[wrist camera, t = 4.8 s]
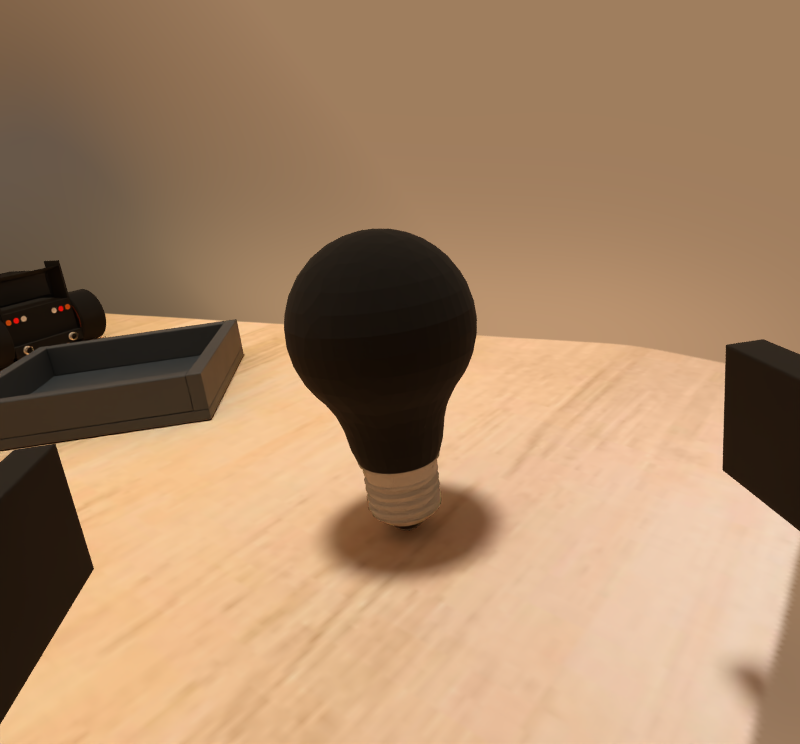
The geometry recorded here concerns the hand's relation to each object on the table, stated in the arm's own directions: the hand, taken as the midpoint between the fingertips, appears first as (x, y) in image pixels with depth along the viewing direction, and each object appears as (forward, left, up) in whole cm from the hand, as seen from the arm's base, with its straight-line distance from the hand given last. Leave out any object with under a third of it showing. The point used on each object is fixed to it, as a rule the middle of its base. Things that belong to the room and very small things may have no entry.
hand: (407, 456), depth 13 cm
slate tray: (+16, -28, -6) cm, 33 cm away
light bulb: (0, -8, -6) cm, 10 cm away
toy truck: (+33, -48, -6) cm, 59 cm away
